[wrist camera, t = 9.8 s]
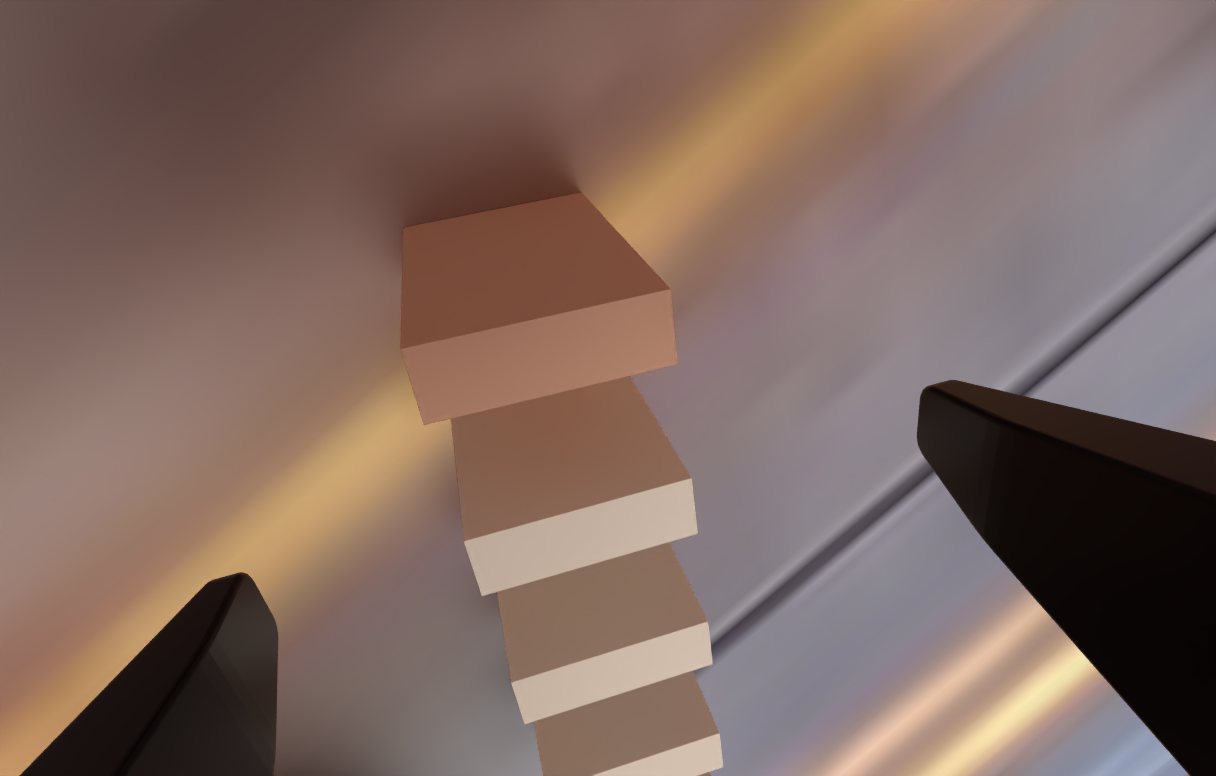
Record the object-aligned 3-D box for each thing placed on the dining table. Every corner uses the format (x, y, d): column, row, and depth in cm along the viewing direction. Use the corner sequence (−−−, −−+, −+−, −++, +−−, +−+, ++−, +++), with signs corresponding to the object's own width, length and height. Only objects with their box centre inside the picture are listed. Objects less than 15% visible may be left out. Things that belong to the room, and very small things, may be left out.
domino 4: (518, 615, 27) (556, 823, 20) (509, 585, 26) (545, 790, 19) (644, 578, 28) (723, 766, 21) (639, 547, 27) (719, 733, 20)
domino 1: (418, 282, 20) (423, 424, 13) (402, 227, 19) (400, 349, 13) (589, 246, 21) (678, 364, 14) (581, 192, 20) (670, 288, 13)
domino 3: (491, 525, 25) (524, 724, 18) (480, 488, 24) (511, 682, 17) (629, 486, 25) (712, 664, 19) (623, 450, 25) (707, 621, 18)
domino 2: (459, 416, 22) (482, 595, 16) (446, 372, 22) (463, 541, 15) (611, 377, 23) (697, 534, 16) (604, 333, 22) (691, 478, 15)
